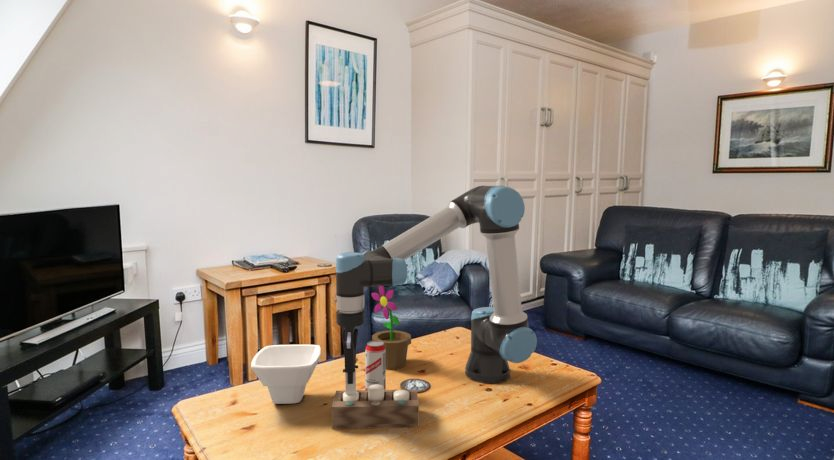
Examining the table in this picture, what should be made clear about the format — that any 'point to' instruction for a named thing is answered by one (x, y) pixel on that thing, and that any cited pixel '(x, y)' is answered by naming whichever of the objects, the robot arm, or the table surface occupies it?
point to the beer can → (375, 364)
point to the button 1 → (351, 397)
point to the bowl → (286, 370)
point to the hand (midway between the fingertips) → (350, 393)
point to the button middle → (376, 392)
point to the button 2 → (401, 395)
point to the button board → (375, 411)
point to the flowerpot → (391, 332)
